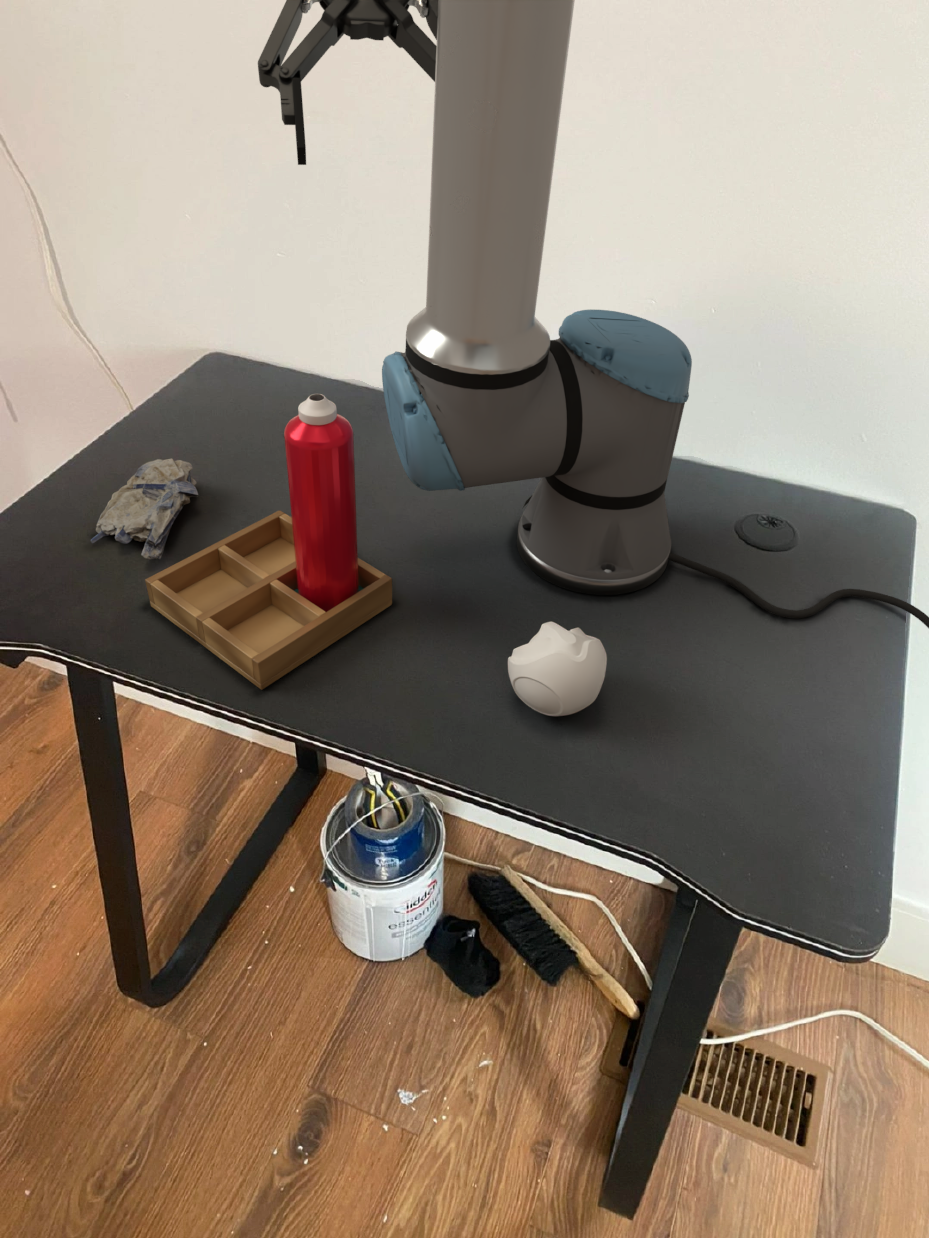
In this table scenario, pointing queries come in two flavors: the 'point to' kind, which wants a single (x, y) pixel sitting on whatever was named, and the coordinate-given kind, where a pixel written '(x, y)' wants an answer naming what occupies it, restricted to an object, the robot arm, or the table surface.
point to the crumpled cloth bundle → (148, 505)
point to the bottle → (323, 502)
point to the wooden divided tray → (259, 601)
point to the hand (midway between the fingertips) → (377, 158)
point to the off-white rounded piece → (558, 670)
